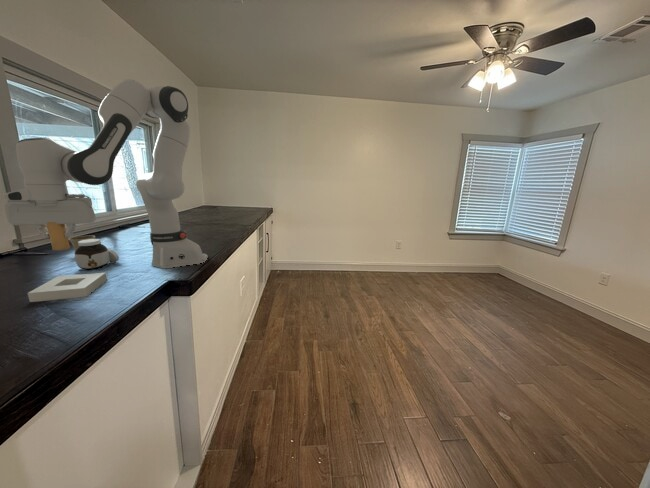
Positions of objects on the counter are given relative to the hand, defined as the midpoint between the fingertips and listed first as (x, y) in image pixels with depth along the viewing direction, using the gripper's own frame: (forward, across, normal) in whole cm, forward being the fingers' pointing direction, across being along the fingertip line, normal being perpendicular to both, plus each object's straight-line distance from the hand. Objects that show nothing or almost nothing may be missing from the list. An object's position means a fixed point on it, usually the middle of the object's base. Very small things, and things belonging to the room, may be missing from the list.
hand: (59, 237), depth 82 cm
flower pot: (+18, +17, -46) cm, 52 cm away
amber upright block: (+4, 0, 0) cm, 4 cm away
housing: (+18, 0, 0) cm, 18 cm away
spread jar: (+18, +3, -26) cm, 32 cm away
